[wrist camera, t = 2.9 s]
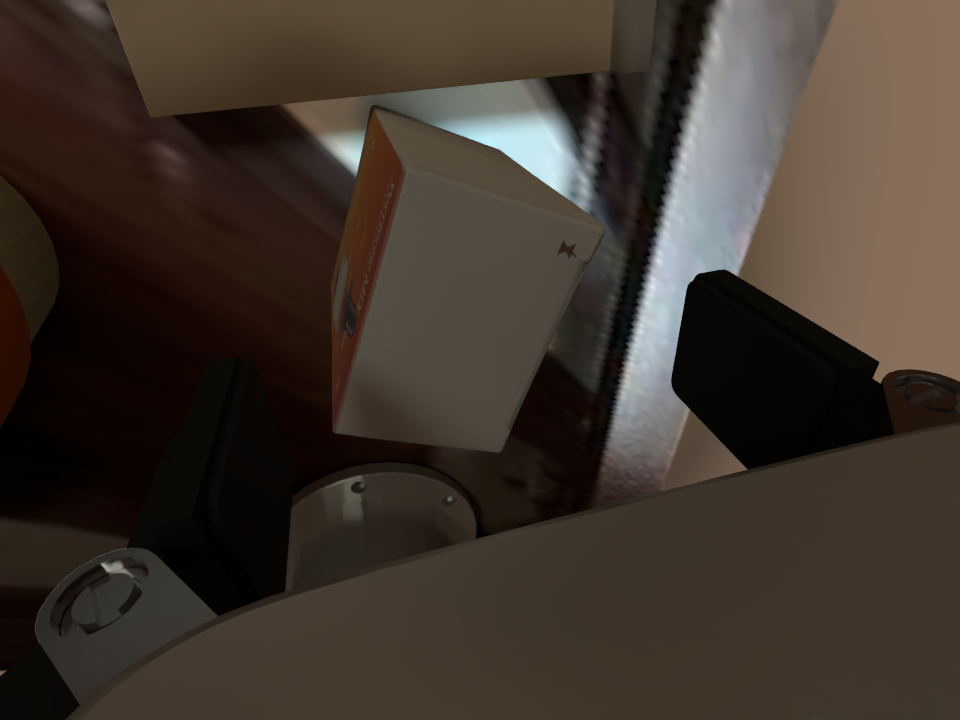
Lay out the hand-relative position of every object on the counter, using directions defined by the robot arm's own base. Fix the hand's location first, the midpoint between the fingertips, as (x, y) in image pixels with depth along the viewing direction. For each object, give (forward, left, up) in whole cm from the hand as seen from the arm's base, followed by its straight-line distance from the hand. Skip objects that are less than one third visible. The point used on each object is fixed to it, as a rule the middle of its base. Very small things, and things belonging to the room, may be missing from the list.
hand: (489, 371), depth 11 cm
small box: (-1, 0, -14) cm, 14 cm away
